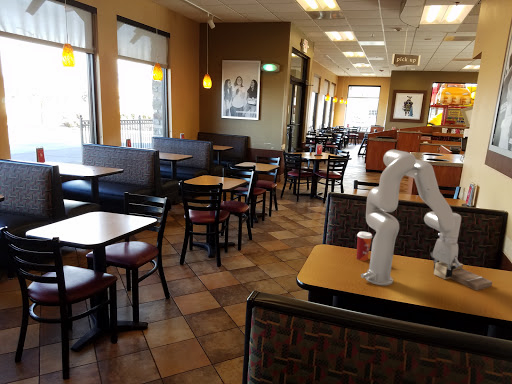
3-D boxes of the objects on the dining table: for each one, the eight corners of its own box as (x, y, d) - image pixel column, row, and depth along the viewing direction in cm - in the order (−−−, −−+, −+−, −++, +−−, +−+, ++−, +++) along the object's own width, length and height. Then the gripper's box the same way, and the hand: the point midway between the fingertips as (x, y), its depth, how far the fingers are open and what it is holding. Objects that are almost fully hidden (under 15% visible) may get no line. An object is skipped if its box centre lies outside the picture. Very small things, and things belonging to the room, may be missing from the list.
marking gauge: (464, 274, 182) (467, 262, 181) (444, 279, 175) (446, 267, 174) (453, 269, 187) (455, 258, 186) (433, 274, 180) (435, 262, 179)
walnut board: (491, 286, 171) (492, 281, 170) (476, 290, 166) (477, 285, 165) (452, 269, 188) (453, 264, 188) (437, 272, 183) (438, 267, 183)
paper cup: (366, 262, 190) (370, 237, 187) (352, 259, 194) (355, 233, 191) (371, 258, 197) (374, 233, 194) (357, 254, 201) (360, 230, 198)
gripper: (427, 233, 180) (421, 267, 184) (460, 246, 165) (453, 283, 169) (437, 232, 184) (432, 265, 188) (470, 244, 169) (463, 280, 173)
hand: (442, 273), depth 178 cm, fingers closed on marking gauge, 6 cm apart
